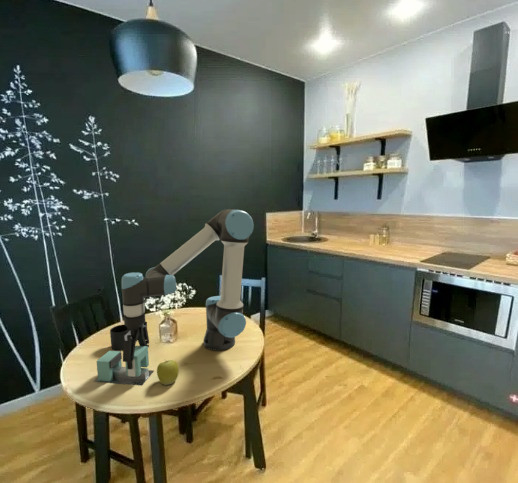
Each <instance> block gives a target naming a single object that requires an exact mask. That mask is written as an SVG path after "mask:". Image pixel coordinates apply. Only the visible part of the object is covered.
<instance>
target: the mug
mask: <svg viewBox="0 0 518 483" xmlns="http://www.w3.org/2000/svg"><path fill="white" fill-rule="evenodd" d="M127 330H128V327H127V326H125V325H124V324H119V325H115V326H112V328H110V329H109V334H110V336H109V337H110V346H111V348H110V349H111V351H123V335H126V334H127ZM131 339H132V338H131Z"/></svg>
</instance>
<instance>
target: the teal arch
mask: <svg viewBox="0 0 518 483" xmlns="http://www.w3.org/2000/svg"><path fill="white" fill-rule="evenodd" d="M149 358H150V357H149V347H148V346H140V345H135V352H134V358H133V359H135V369H136V376H140V374H141V368H148V367H149V365H150V363H149V362H150V361H149ZM124 363H125V367H126V375H128V368H127V362H124Z"/></svg>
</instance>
